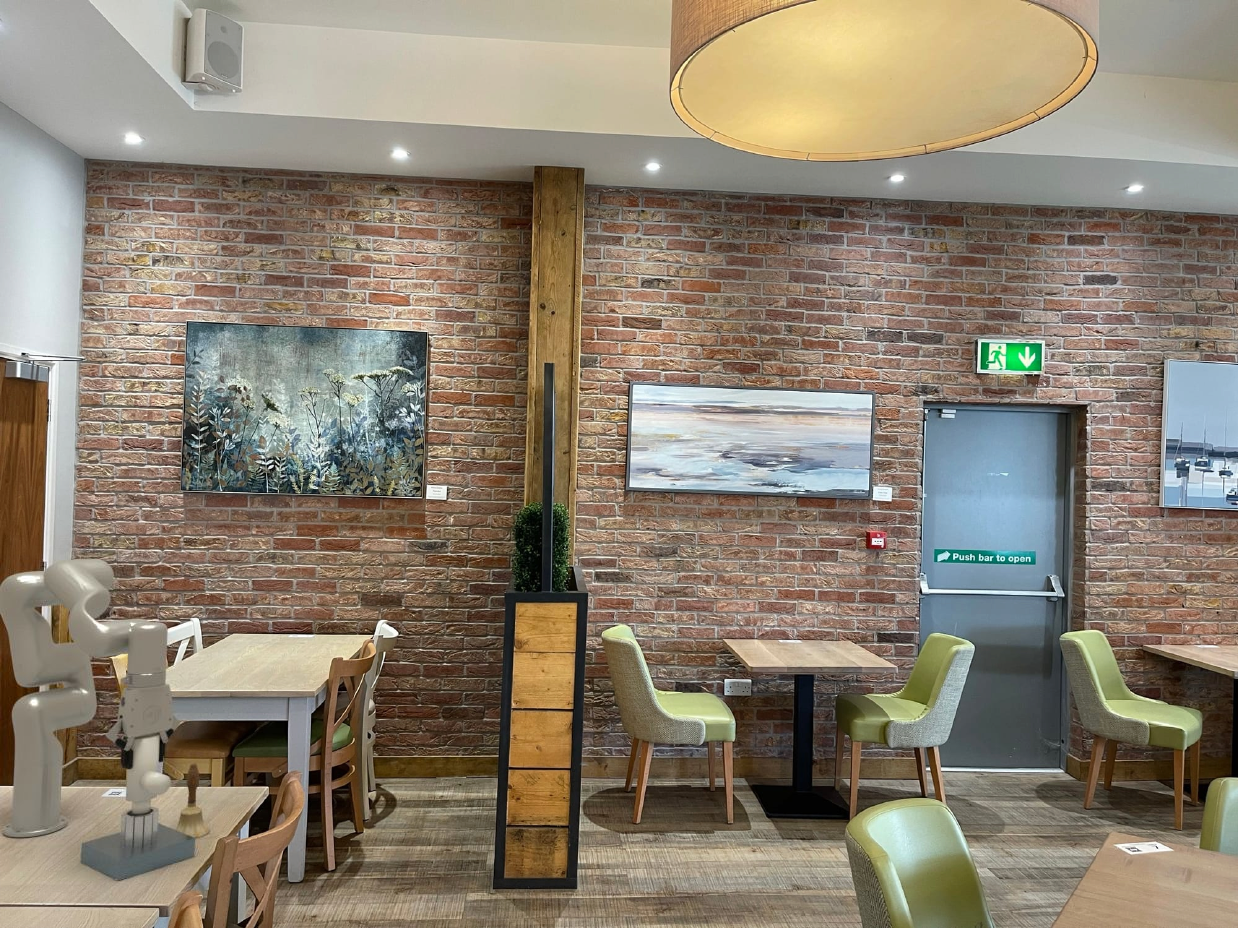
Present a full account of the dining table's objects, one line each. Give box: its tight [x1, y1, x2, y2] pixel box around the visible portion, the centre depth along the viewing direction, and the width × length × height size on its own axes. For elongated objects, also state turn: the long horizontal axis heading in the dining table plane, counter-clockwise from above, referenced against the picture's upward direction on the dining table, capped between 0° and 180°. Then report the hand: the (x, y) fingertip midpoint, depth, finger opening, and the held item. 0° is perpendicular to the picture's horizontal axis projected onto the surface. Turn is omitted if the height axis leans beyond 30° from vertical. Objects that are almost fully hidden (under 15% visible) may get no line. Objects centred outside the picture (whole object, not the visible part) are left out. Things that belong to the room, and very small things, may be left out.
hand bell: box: [173, 763, 211, 839], centre depth 207 cm, size 8×8×16 cm
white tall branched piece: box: [125, 733, 172, 814], centre depth 191 cm, size 11×6×16 cm, turn 55°
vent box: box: [80, 806, 196, 882], centre depth 192 cm, size 16×16×10 cm
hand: (142, 763), depth 192 cm, fingers closed on white tall branched piece, 6 cm apart
